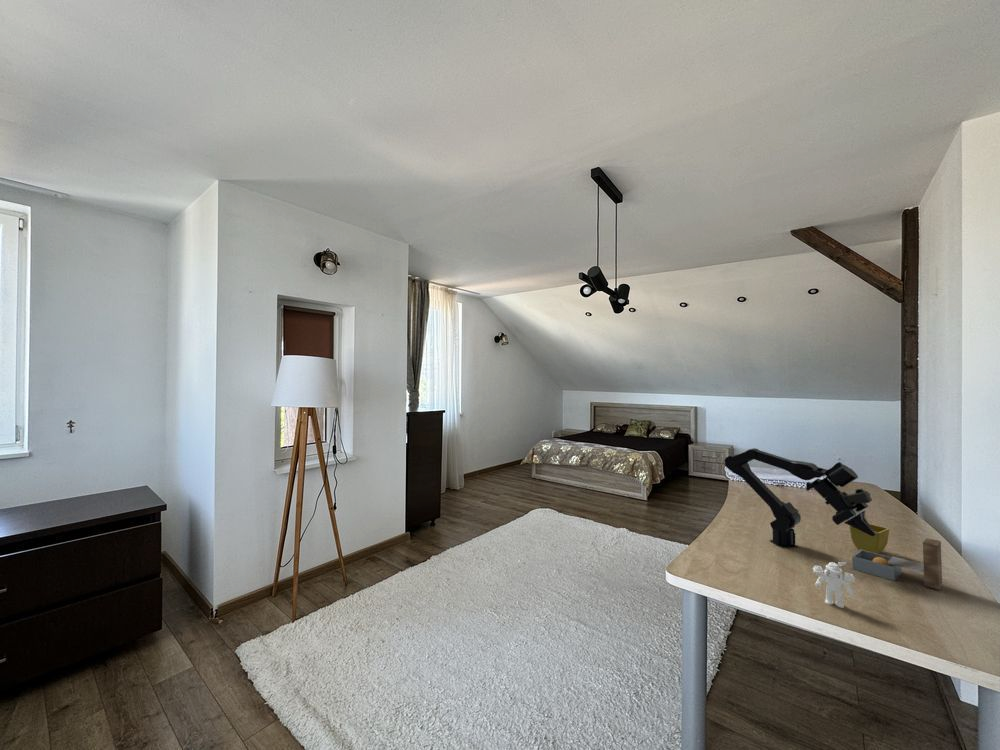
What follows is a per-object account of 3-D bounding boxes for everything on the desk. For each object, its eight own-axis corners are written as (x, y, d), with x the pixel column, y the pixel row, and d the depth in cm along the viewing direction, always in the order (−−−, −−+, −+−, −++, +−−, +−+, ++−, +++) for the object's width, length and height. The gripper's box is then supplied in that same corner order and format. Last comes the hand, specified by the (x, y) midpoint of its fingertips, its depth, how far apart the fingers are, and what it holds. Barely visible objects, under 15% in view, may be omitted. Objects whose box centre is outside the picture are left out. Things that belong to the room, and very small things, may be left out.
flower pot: (880, 558, 139) (879, 532, 139) (849, 549, 146) (848, 525, 147) (890, 553, 143) (889, 528, 143) (860, 545, 150) (859, 521, 151)
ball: (883, 561, 126) (871, 567, 129) (894, 570, 126) (882, 575, 128) (879, 552, 129) (867, 557, 132) (890, 560, 129) (878, 565, 131)
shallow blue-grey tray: (852, 568, 131) (852, 556, 131) (860, 561, 136) (860, 549, 137) (894, 580, 122) (894, 567, 123) (901, 572, 128) (901, 559, 128)
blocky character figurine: (855, 606, 108) (854, 562, 108) (856, 612, 105) (854, 567, 105) (813, 595, 114) (812, 553, 114) (812, 600, 111) (811, 557, 111)
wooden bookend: (888, 576, 125) (887, 534, 125) (893, 570, 129) (891, 530, 129) (938, 590, 116) (937, 545, 117) (942, 583, 120) (940, 540, 120)
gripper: (844, 485, 129) (891, 529, 120) (859, 477, 140) (904, 517, 131) (814, 503, 136) (857, 546, 126) (832, 494, 147) (872, 534, 137)
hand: (874, 535), depth 130 cm, fingers closed
